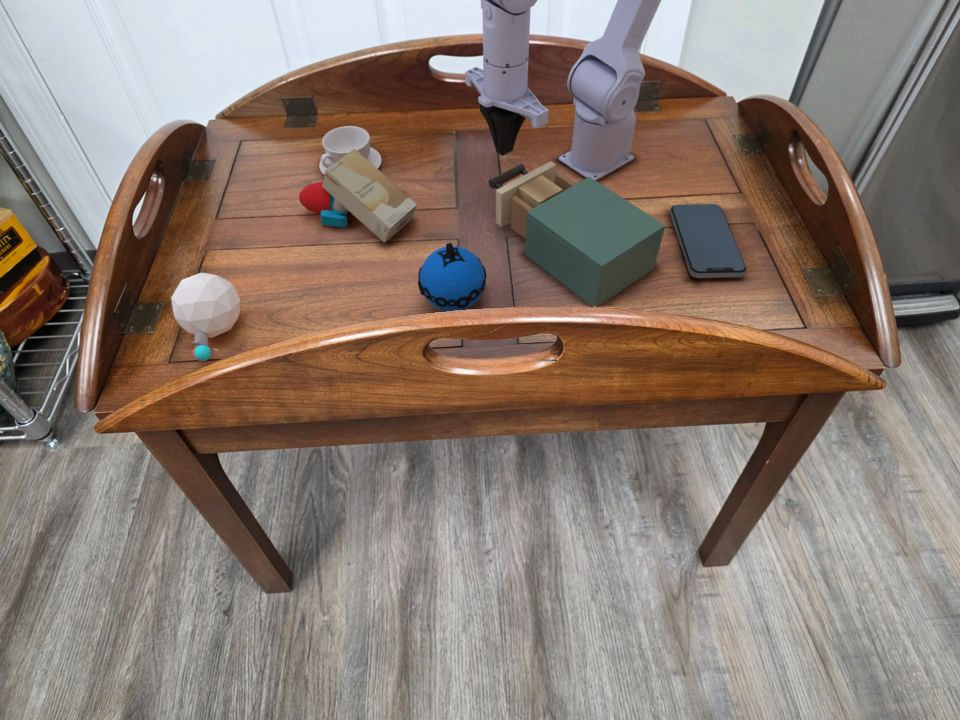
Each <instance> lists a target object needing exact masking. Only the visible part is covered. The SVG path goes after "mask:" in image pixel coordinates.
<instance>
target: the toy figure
mask: <svg viewBox="0 0 960 720" xmlns="http://www.w3.org/2000/svg"><path fill="white" fill-rule="evenodd" d="M322 185H323V181H318V182H314V183H310V184H308V185H306V186H305V187H304V188H302V189H301V190H300V192H299V195H298V200H299V202H300V204H301V205H302V206H303V208H305V209H306V210H308V211H309V212H312V213H314V214H317V215H320V223H321V225H322V226H323V225H324V226H329V227H330V226H331V227H336V228H346V227H348V213H350V211H348V210H347V209H346V208H345V207H344V206H343V205H342V204H341V203H340V202H338V201H337V200H336V199H335V198H334V197H333V196H332V195H331V194H329V193H328V192H327V191H326V190H325V189H324V188H323V187H322Z"/></svg>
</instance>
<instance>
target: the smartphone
mask: <svg viewBox="0 0 960 720" xmlns="http://www.w3.org/2000/svg"><path fill="white" fill-rule="evenodd" d="M669 216H670V218H671V221H672V224H673V228H674V231H675V233H676V236H677V240H678V243H679V245H680V249H681V252H682V255H683V259H684V261H685V264H686V267H687V270H688V273H689V275H690V276H691V277H693V278H695V279H713V278H714V279H716V278H719V279H721V278H722V279H723V278H725V279H726V278H741V277H744V276H745V274H746V271H747V266H746V264H745V261H744V259H743V256H742V254H741V252H740V249H739V246H738V245H737V242H736V240H735V237H734V235H733V233H732V229H731V228H730V225H729V222H728V220H727V217H726V216H725V213H724V210H723V209H722V207H721V206H720V205H719V204H716V203H691V204H689V203H688V204H674V205H671V207H670V210H669Z"/></svg>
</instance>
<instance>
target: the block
mask: <svg viewBox="0 0 960 720" xmlns="http://www.w3.org/2000/svg"><path fill="white" fill-rule="evenodd" d="M561 192H563V189H562V188H560V187H559V186H557V185H556V184H554V183H553V182H551V181H550V180H548V179H547V178H545V177H544V176H542V175H541V176H539V177H537V178H535V179H533V180H531V181H529V182H528V183H526V184H524V185H522V186H520V187H518V198H520V199H521V200H523V201H524V202H525V203H527V204H528V205H529V206H531V207H532V208H534V207H536V206H538V205H540V204H542V203H543V202H545V201H547V200H549V199H550V198H552V197H554V196H556V195H558V194H559V193H561Z"/></svg>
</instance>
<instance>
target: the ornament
mask: <svg viewBox="0 0 960 720" xmlns="http://www.w3.org/2000/svg"><path fill="white" fill-rule="evenodd" d="M417 274H418V276H417V277H418V278H417V279H418V281H417V286H418V290H419V293H420V295H421V296H424V298H425V299H426V301H427V302H428V303H429V304H430V305H431V306H433V307H434V308H436V309H437V310H439V311H443V312H446V311H453V310H463V309H465V310H467V309H470V308H471V307H472V306H475V304H476V303H477V302H478V300H479V299H481V297H482V294H483V293H484V291H485V289H486V284H487V280H486V279H487V271H486V268H485V266H484V264H482V261H481V259H480V257H479V256H477V255H476V254H474V252H472V251H470V250H468V249H467V248H465V247H462V246H457V245H453V243H452V242H449V243H448V242H447V243H445V246H443V247H440V248H438V249H436V250H434V251H433V252H432V253H430V254H428V256H427V257H426V258H425V260H424V262H423V264H422V265H421V266H420V267H419V269H418V273H417ZM463 311H464V310H463Z"/></svg>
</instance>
